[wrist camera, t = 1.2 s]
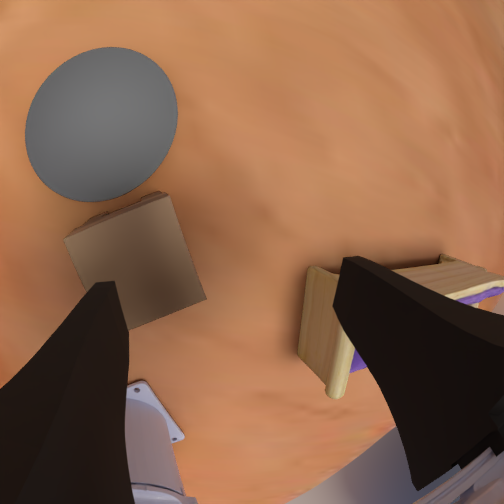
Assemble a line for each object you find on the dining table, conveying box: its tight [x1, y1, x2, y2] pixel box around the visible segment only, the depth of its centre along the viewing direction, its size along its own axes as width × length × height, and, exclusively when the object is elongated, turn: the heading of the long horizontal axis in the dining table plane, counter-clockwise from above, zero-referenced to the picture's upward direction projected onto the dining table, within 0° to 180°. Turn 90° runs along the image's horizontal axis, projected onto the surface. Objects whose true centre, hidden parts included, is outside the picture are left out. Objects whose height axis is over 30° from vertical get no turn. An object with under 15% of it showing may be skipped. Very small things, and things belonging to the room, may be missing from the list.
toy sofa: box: [297, 254, 504, 399], centre depth 23 cm, size 21×9×10 cm, turn 87°
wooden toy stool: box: [63, 191, 207, 330], centre depth 15 cm, size 5×5×6 cm
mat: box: [25, 47, 178, 202], centre depth 15 cm, size 10×10×1 cm
